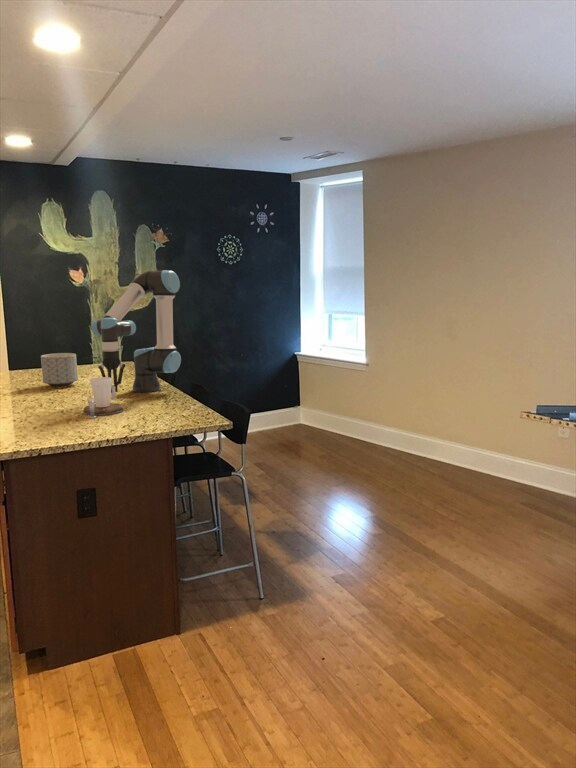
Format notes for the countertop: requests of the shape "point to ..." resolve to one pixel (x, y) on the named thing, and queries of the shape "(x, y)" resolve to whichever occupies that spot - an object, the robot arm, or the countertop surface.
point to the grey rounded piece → (92, 407)
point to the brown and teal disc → (104, 408)
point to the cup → (101, 390)
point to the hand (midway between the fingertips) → (113, 398)
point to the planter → (59, 369)
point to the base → (104, 413)
